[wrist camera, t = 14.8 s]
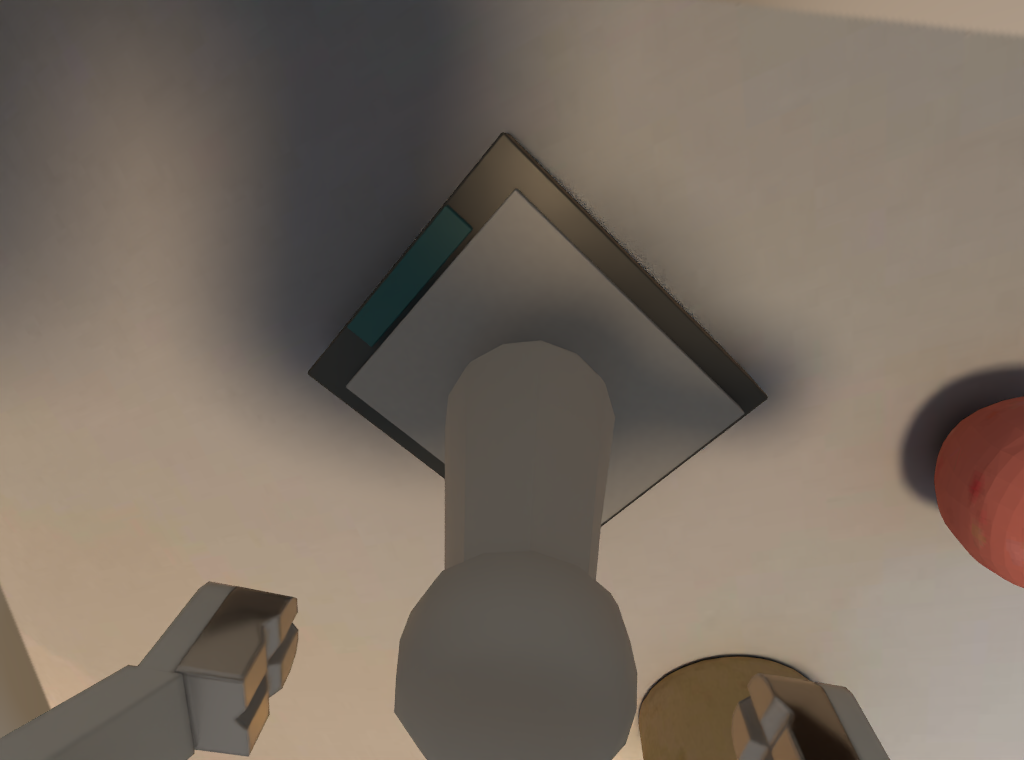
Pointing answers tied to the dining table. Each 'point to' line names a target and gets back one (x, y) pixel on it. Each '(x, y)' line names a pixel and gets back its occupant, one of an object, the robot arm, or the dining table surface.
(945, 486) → the apple
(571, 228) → the scale
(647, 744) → the sugar bowl
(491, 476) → the salt shaker
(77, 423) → the dining table surface
